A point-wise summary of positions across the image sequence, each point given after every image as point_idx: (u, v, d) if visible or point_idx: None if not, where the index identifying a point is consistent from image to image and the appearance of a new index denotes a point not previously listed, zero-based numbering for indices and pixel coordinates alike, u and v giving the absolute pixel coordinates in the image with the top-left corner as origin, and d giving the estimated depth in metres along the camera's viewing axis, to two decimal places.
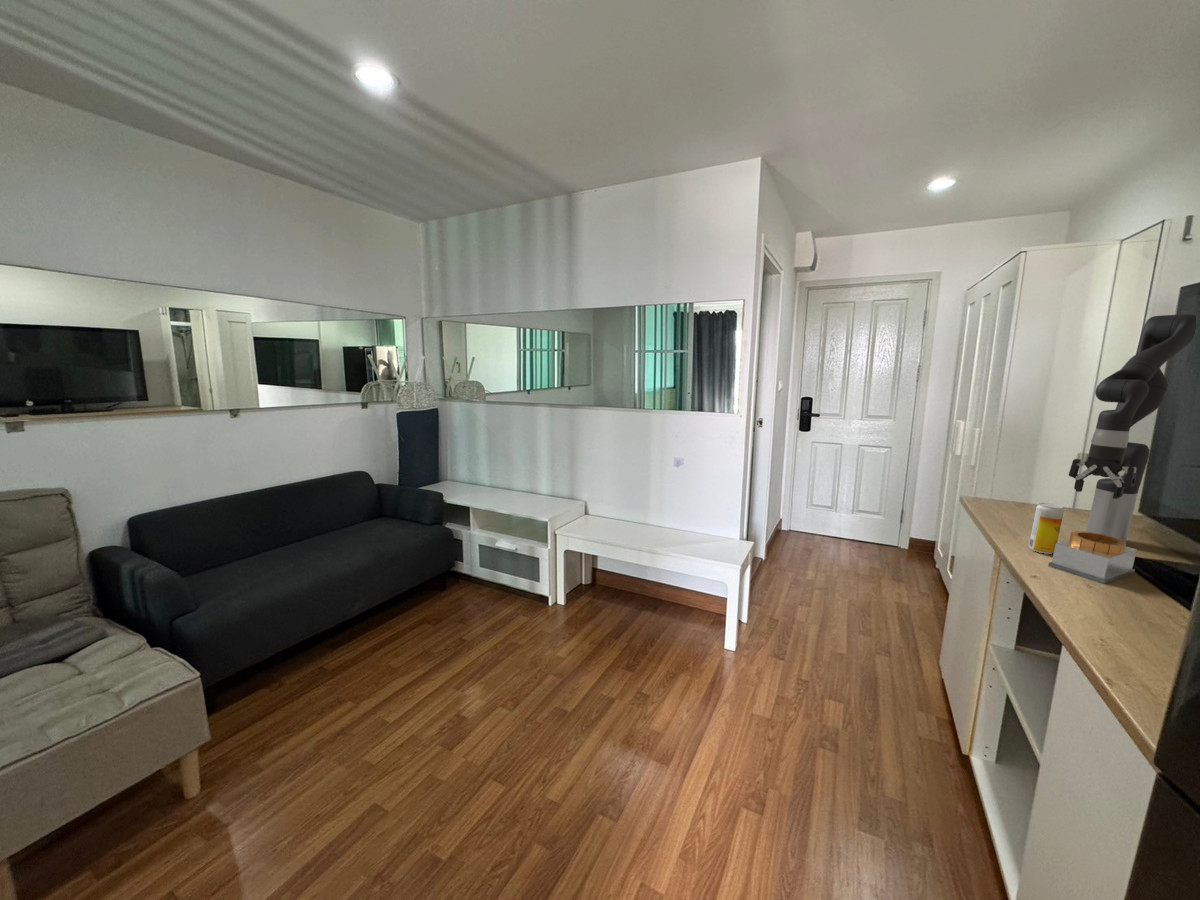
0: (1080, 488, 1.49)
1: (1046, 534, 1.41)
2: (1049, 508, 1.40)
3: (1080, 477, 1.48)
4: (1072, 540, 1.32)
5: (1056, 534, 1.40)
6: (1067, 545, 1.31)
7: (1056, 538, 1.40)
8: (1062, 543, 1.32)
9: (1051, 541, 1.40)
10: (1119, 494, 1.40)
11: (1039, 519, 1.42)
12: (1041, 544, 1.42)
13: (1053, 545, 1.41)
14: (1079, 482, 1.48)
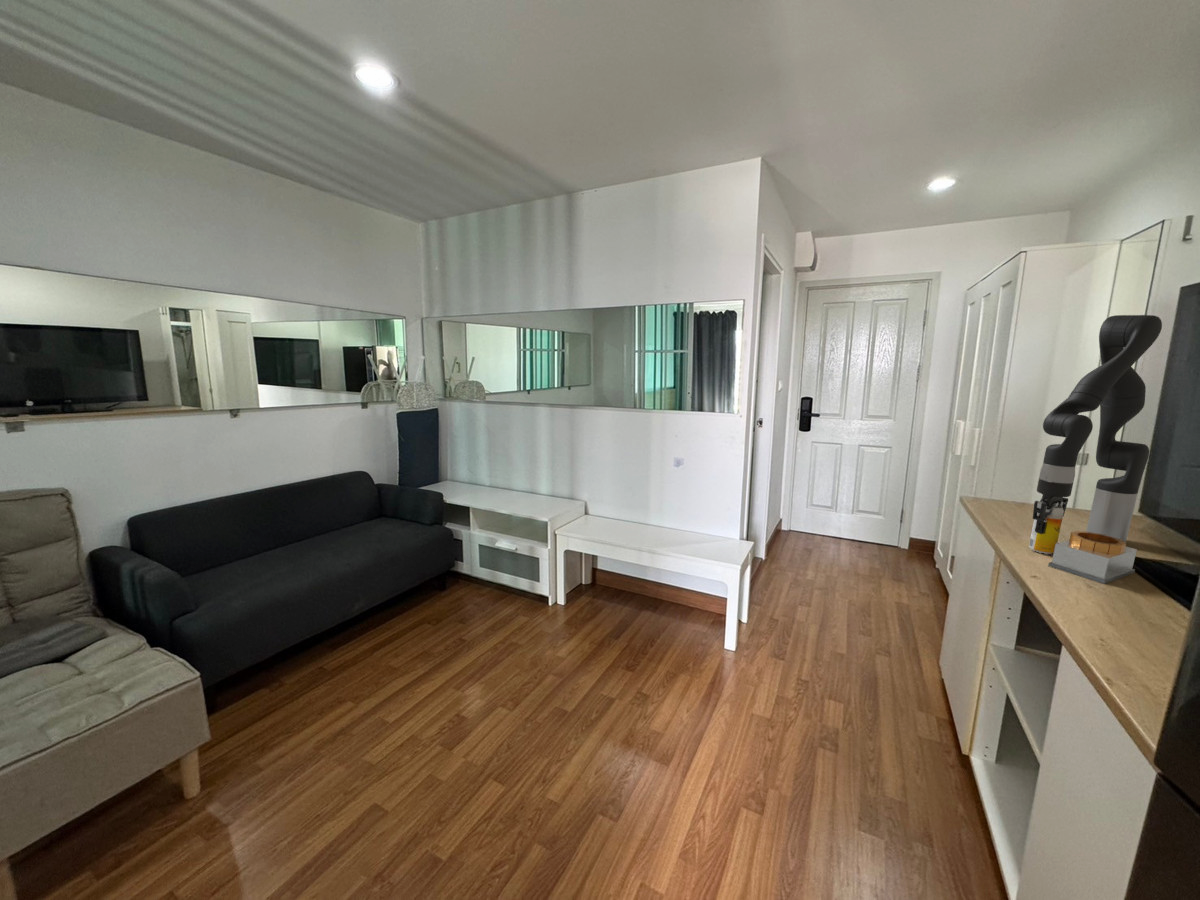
0: None
1: (1046, 534, 1.41)
2: None
3: (1047, 519, 1.40)
4: (1072, 540, 1.32)
5: (1056, 534, 1.40)
6: (1067, 545, 1.31)
7: (1056, 538, 1.40)
8: (1062, 543, 1.32)
9: (1051, 541, 1.40)
10: None
11: None
12: (1041, 544, 1.42)
13: (1053, 545, 1.41)
14: (1046, 524, 1.40)
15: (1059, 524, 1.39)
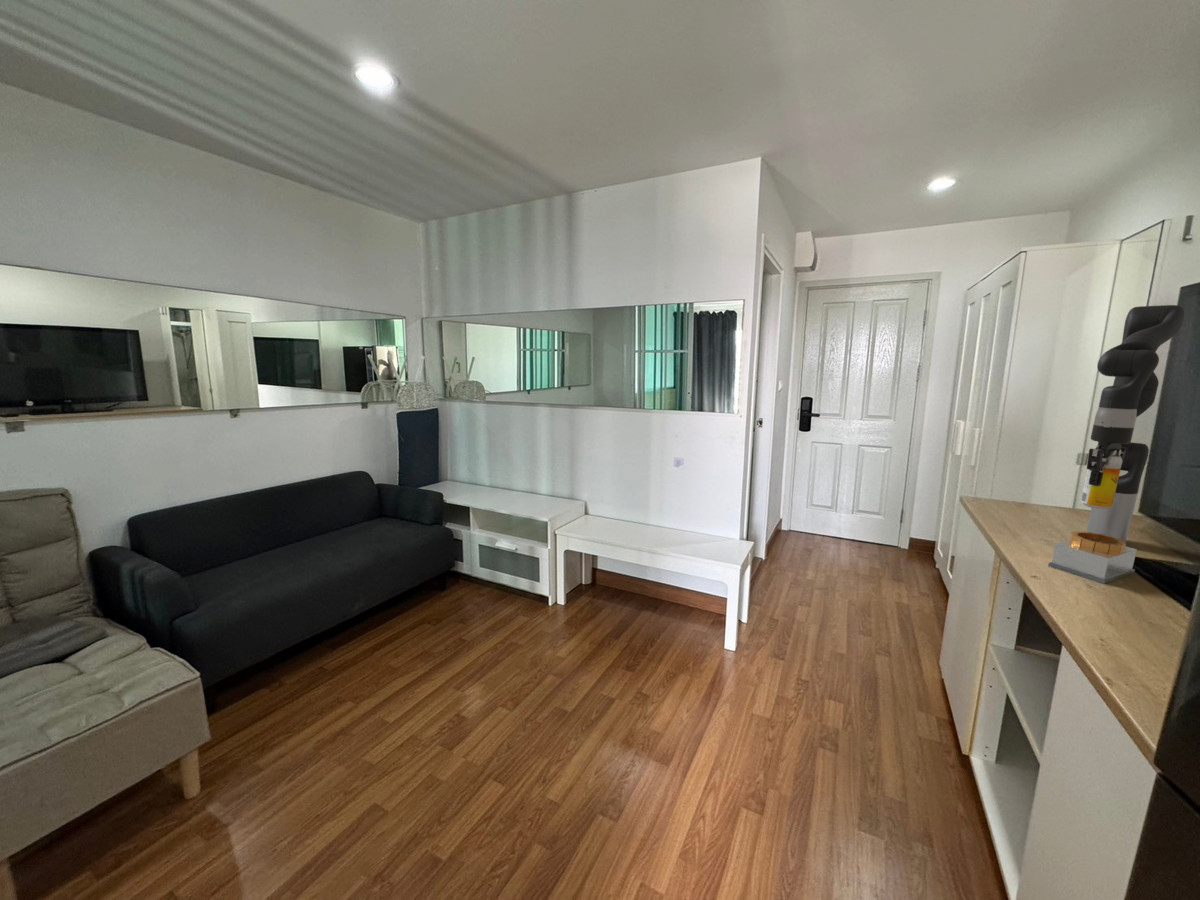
0: None
1: (1101, 486, 1.27)
2: None
3: (1104, 469, 1.26)
4: (1072, 540, 1.32)
5: (1113, 486, 1.26)
6: (1067, 545, 1.31)
7: (1113, 490, 1.26)
8: (1062, 543, 1.32)
9: (1108, 493, 1.26)
10: None
11: None
12: (1096, 498, 1.28)
13: (1110, 499, 1.27)
14: (1102, 475, 1.26)
15: (1117, 474, 1.25)
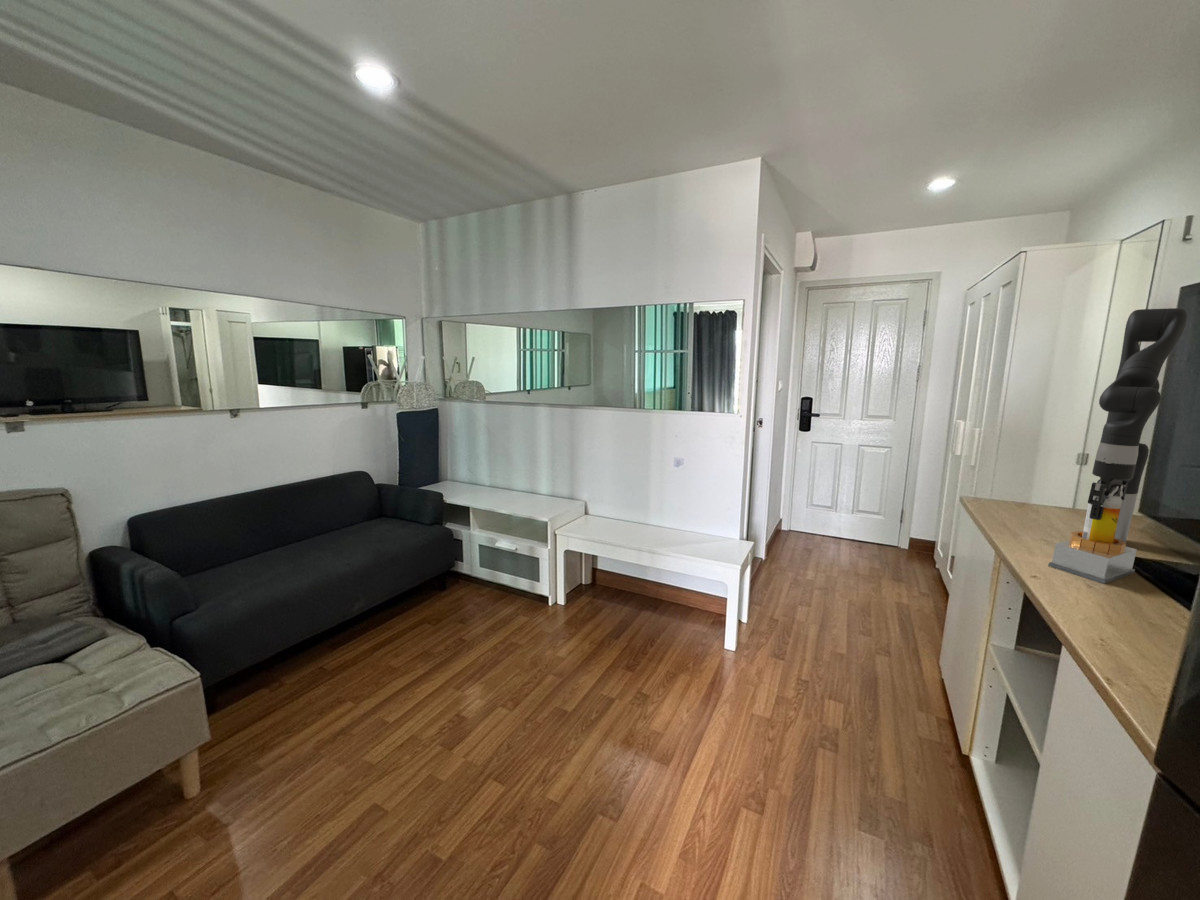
0: None
1: (1102, 526, 1.27)
2: None
3: (1104, 503, 1.25)
4: (1072, 540, 1.32)
5: (1114, 525, 1.26)
6: (1067, 545, 1.31)
7: (1114, 530, 1.27)
8: (1062, 543, 1.32)
9: (1109, 533, 1.27)
10: None
11: None
12: (1097, 537, 1.28)
13: (1111, 538, 1.27)
14: (1103, 509, 1.26)
15: (1117, 514, 1.26)
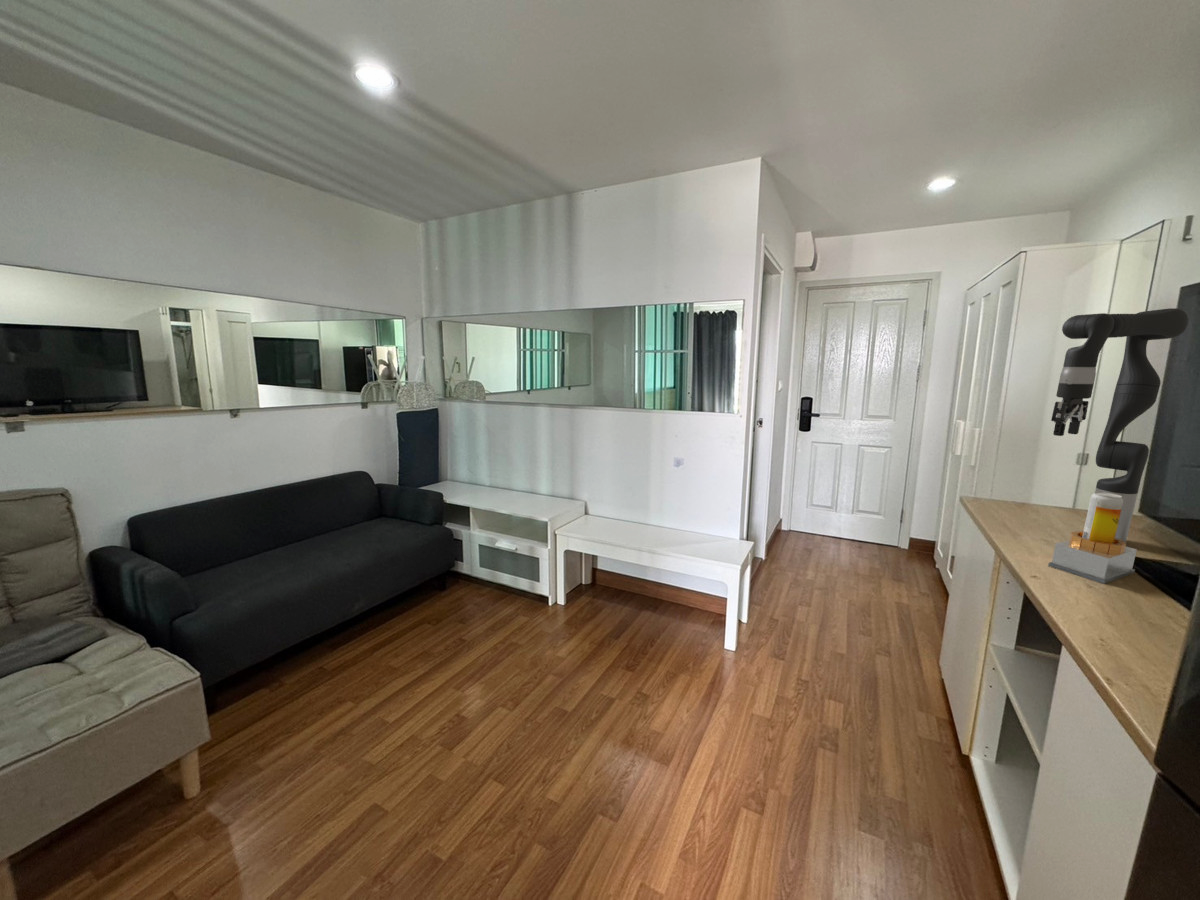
0: None
1: (1103, 526, 1.27)
2: (1107, 497, 1.26)
3: (1066, 420, 1.40)
4: (1072, 540, 1.32)
5: (1115, 526, 1.26)
6: (1067, 545, 1.31)
7: (1114, 531, 1.27)
8: (1062, 543, 1.32)
9: (1109, 533, 1.27)
10: None
11: (1095, 510, 1.28)
12: (1097, 538, 1.28)
13: (1111, 539, 1.27)
14: None
15: (1118, 515, 1.26)
